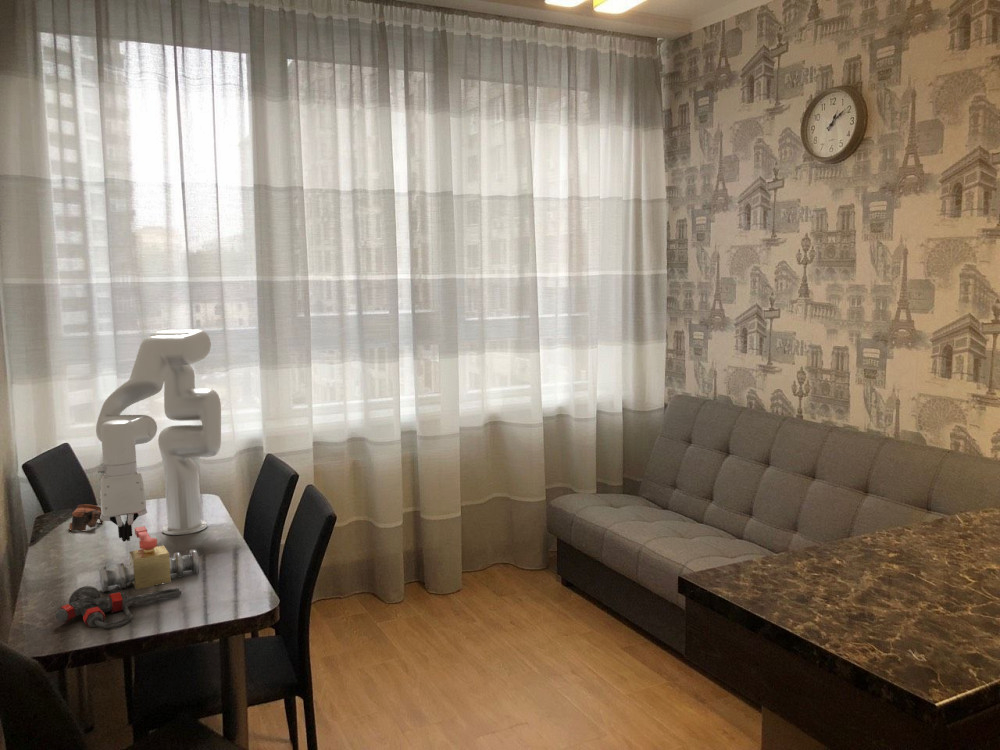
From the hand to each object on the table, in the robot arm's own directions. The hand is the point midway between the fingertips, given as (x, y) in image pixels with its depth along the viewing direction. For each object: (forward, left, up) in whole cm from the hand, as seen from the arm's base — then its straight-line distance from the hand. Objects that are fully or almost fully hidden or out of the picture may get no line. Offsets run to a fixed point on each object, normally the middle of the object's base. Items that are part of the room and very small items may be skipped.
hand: (125, 539), depth 202 cm
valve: (+27, -5, -10) cm, 29 cm away
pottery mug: (-51, -4, -9) cm, 52 cm away
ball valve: (+10, +4, -9) cm, 14 cm away
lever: (+4, +4, 0) cm, 6 cm away
